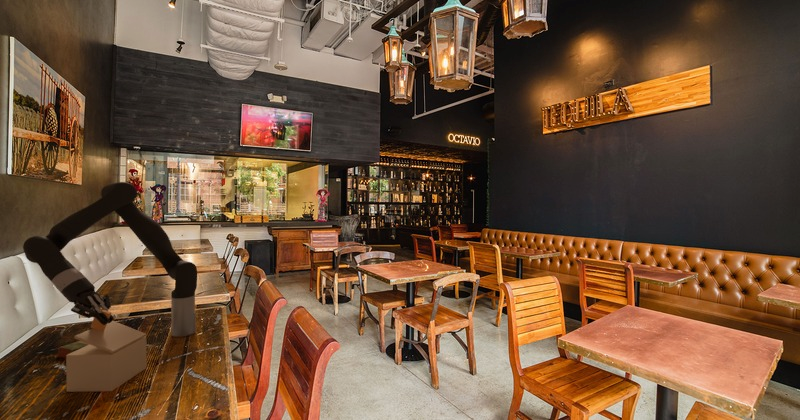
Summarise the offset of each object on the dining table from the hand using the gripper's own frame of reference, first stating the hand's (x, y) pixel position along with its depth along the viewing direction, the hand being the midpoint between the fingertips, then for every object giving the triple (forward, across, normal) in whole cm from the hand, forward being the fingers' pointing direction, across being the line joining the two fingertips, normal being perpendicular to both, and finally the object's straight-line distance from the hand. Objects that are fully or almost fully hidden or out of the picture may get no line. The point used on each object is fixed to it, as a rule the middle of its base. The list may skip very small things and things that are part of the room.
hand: (109, 322), depth 121 cm
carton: (-4, +24, +34) cm, 42 cm away
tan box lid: (+4, 0, +3) cm, 5 cm away
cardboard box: (+14, 0, +14) cm, 19 cm away
